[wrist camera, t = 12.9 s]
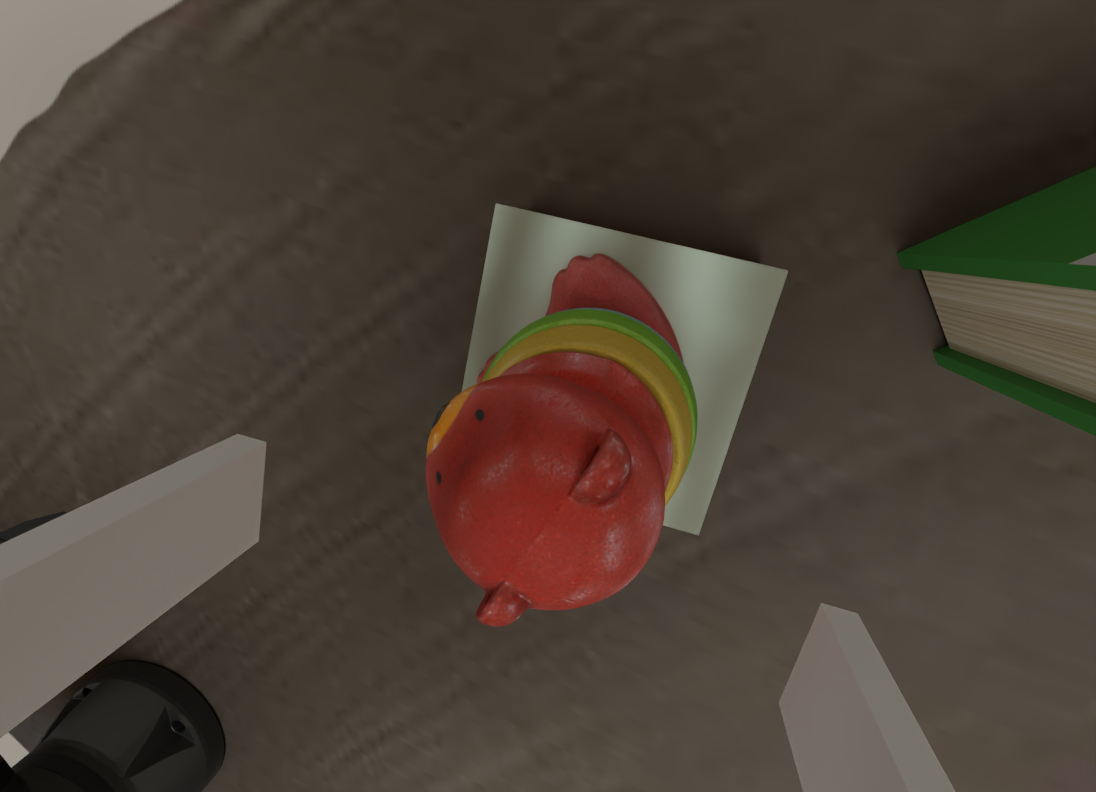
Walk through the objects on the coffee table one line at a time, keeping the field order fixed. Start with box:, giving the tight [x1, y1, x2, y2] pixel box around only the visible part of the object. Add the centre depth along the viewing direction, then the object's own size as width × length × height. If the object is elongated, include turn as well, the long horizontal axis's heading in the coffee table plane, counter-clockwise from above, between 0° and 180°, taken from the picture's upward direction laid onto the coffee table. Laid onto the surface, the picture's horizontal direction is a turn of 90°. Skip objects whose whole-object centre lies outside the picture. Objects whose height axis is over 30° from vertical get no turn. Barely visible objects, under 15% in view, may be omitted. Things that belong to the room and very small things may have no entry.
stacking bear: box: [426, 254, 698, 627], centre depth 23 cm, size 11×10×18 cm
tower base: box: [462, 203, 788, 535], centre depth 35 cm, size 15×15×8 cm
